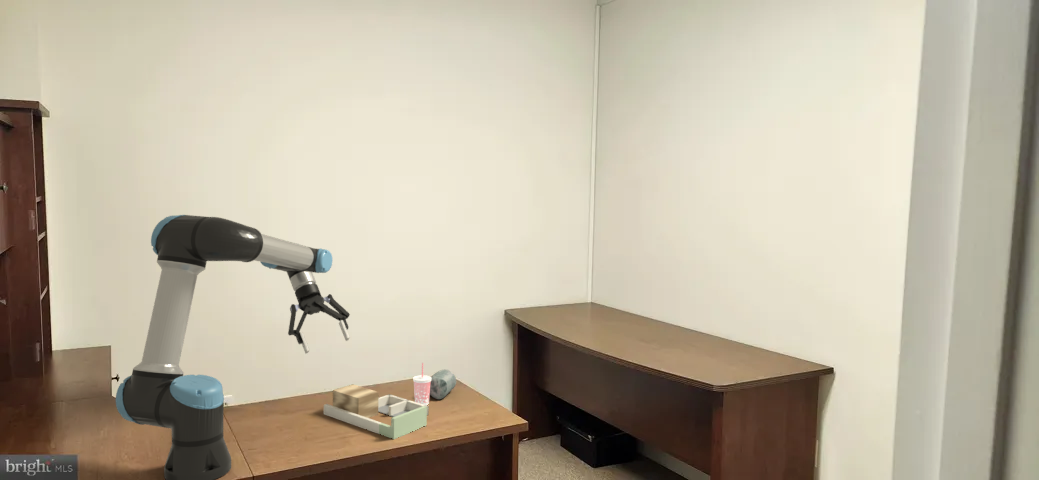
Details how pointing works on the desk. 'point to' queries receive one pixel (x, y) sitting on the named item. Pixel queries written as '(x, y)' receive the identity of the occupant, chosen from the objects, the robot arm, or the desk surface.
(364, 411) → the maple block
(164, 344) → the robot arm
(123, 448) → the desk surface
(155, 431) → the desk surface
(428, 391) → the beverage cup
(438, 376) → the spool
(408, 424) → the tray
